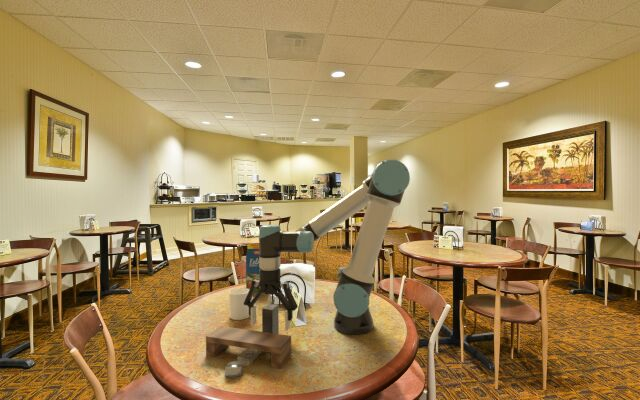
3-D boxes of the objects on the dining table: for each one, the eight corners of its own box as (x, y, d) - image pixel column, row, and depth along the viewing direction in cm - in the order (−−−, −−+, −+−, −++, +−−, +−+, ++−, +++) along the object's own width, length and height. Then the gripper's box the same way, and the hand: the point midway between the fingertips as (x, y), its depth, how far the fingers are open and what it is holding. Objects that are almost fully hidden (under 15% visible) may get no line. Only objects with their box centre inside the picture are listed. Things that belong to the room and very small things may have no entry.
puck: (246, 370, 89) (246, 362, 89) (236, 380, 85) (236, 372, 85) (232, 367, 91) (232, 359, 91) (221, 377, 86) (221, 368, 86)
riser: (291, 355, 98) (291, 335, 98) (280, 368, 90) (280, 347, 90) (221, 343, 105) (221, 326, 105) (206, 355, 98) (205, 336, 98)
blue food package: (268, 291, 162) (268, 244, 162) (246, 291, 163) (245, 244, 162) (270, 288, 169) (270, 242, 168) (249, 288, 169) (248, 243, 169)
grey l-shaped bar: (268, 333, 113) (268, 303, 113) (278, 334, 112) (278, 304, 112) (237, 363, 93) (237, 327, 93) (249, 365, 92) (248, 328, 92)
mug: (251, 322, 123) (251, 296, 123) (225, 319, 126) (225, 293, 126) (261, 314, 131) (261, 289, 131) (236, 311, 134) (236, 287, 134)
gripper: (306, 267, 110) (306, 326, 110) (244, 263, 117) (245, 318, 117) (298, 273, 103) (298, 335, 103) (233, 268, 110) (234, 326, 110)
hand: (270, 326), depth 110 cm, fingers open, 13 cm apart
